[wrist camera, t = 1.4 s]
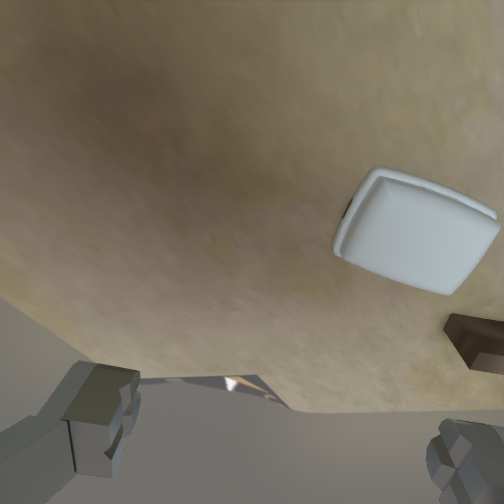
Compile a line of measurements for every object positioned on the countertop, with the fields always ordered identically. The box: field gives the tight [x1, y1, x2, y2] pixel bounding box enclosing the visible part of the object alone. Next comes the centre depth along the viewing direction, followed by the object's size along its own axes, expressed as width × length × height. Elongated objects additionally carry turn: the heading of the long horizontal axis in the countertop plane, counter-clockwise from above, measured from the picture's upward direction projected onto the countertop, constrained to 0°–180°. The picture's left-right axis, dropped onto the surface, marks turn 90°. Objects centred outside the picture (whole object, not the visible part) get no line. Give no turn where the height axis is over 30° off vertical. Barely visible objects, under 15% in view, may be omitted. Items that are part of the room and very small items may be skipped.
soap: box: [332, 166, 501, 296], centre depth 22 cm, size 9×7×3 cm
